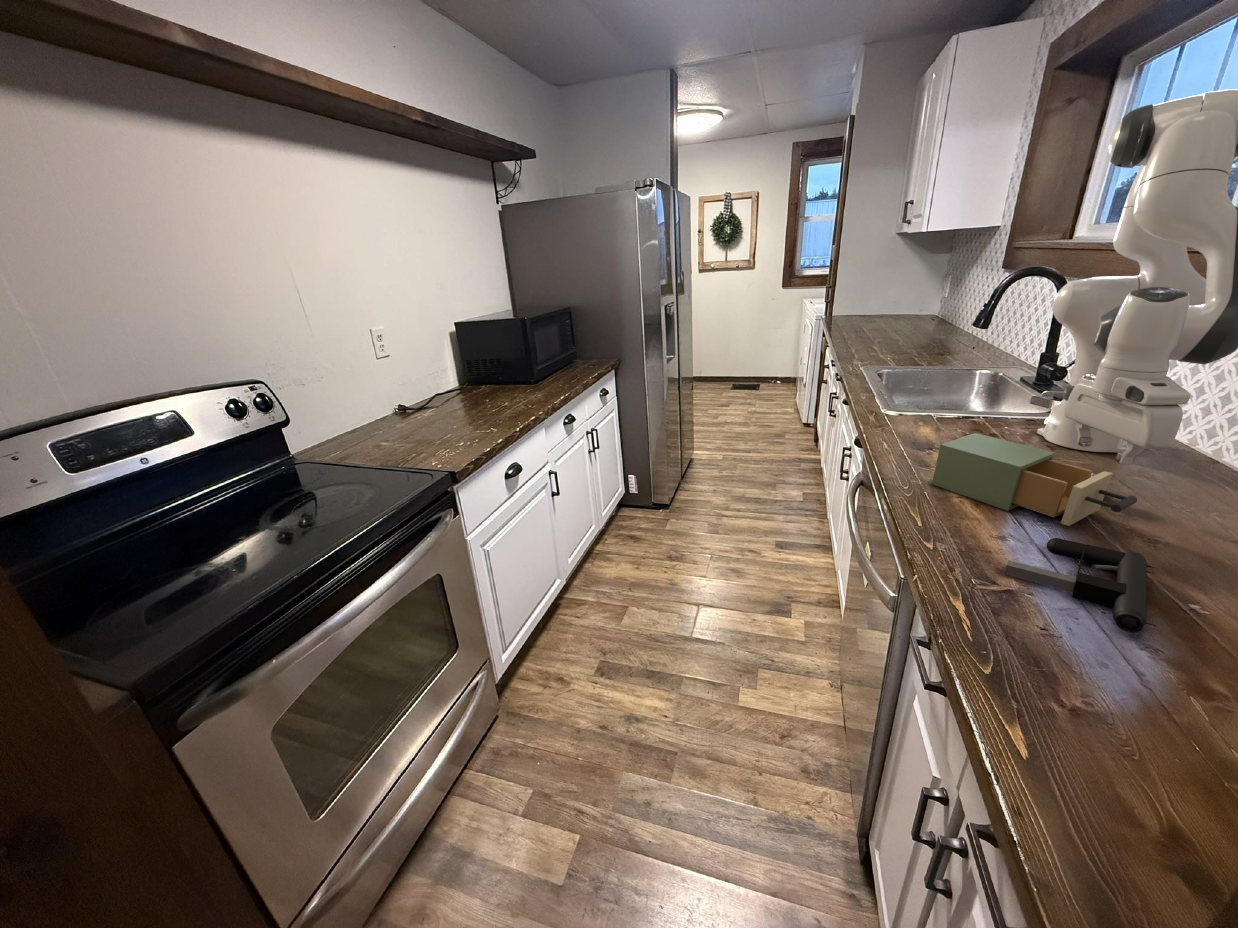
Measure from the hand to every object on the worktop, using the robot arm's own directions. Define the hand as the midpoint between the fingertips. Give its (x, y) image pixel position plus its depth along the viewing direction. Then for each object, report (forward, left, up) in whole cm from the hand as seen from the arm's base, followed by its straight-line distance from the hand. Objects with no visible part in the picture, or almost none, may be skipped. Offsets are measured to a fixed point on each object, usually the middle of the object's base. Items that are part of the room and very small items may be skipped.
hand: (1102, 454), depth 95 cm
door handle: (+35, +12, -9) cm, 38 cm away
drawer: (+13, 0, -8) cm, 15 cm away
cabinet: (+13, -12, -9) cm, 20 cm away
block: (0, 0, -9) cm, 9 cm away
